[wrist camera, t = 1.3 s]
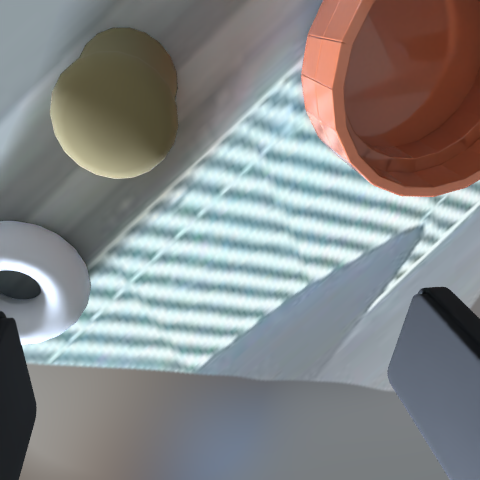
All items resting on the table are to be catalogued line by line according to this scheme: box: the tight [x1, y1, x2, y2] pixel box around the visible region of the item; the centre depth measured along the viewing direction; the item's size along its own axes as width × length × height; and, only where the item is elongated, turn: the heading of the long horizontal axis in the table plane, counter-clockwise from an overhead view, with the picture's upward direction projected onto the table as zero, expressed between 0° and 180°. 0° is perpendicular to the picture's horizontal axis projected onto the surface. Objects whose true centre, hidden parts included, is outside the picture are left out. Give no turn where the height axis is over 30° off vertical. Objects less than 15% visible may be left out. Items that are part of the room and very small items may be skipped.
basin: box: [301, 0, 480, 197], centre depth 25 cm, size 14×14×6 cm
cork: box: [50, 28, 178, 179], centre depth 21 cm, size 6×6×11 cm
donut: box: [0, 221, 91, 345], centre depth 29 cm, size 10×4×10 cm
